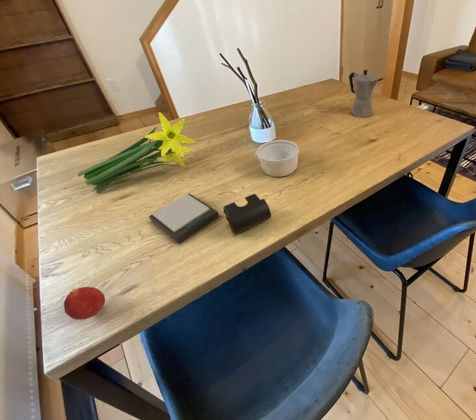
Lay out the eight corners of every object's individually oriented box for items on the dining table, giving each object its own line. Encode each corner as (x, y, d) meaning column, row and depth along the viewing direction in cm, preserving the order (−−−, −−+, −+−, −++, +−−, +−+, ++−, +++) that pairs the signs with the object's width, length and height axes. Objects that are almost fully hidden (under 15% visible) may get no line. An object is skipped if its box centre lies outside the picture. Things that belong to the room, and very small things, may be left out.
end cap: (237, 241, 68) (231, 221, 64) (226, 224, 72) (220, 205, 68) (273, 223, 73) (269, 204, 68) (261, 209, 77) (256, 190, 72)
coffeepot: (380, 114, 122) (385, 70, 110) (366, 120, 118) (370, 76, 106) (354, 104, 131) (357, 63, 119) (340, 110, 126) (342, 67, 114)
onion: (80, 332, 52) (52, 312, 46) (77, 310, 55) (49, 289, 50) (115, 314, 54) (92, 292, 49) (110, 294, 58) (87, 271, 52)
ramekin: (270, 155, 98) (267, 137, 93) (305, 160, 95) (304, 142, 91) (253, 176, 88) (249, 157, 84) (292, 182, 86) (290, 163, 81)
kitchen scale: (179, 243, 68) (175, 236, 66) (152, 221, 74) (147, 214, 72) (219, 216, 75) (216, 209, 73) (191, 198, 81) (188, 191, 79)
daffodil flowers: (101, 172, 93) (196, 125, 97) (117, 208, 90) (214, 159, 94) (54, 151, 76) (171, 96, 80) (72, 195, 74) (192, 136, 78)
